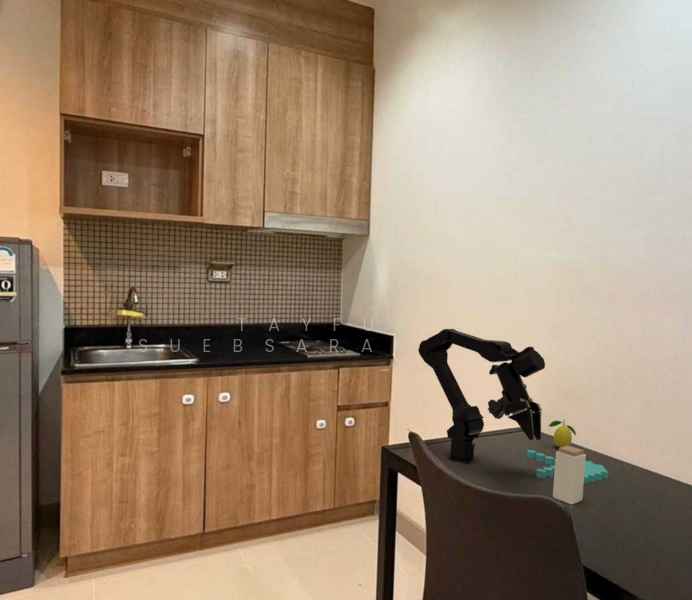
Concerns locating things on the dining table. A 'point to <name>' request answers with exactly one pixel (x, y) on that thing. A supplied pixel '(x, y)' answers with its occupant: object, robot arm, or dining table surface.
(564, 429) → the lemon
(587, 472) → the alien figure
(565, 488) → the canister
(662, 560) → the dining table surface
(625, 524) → the dining table surface
